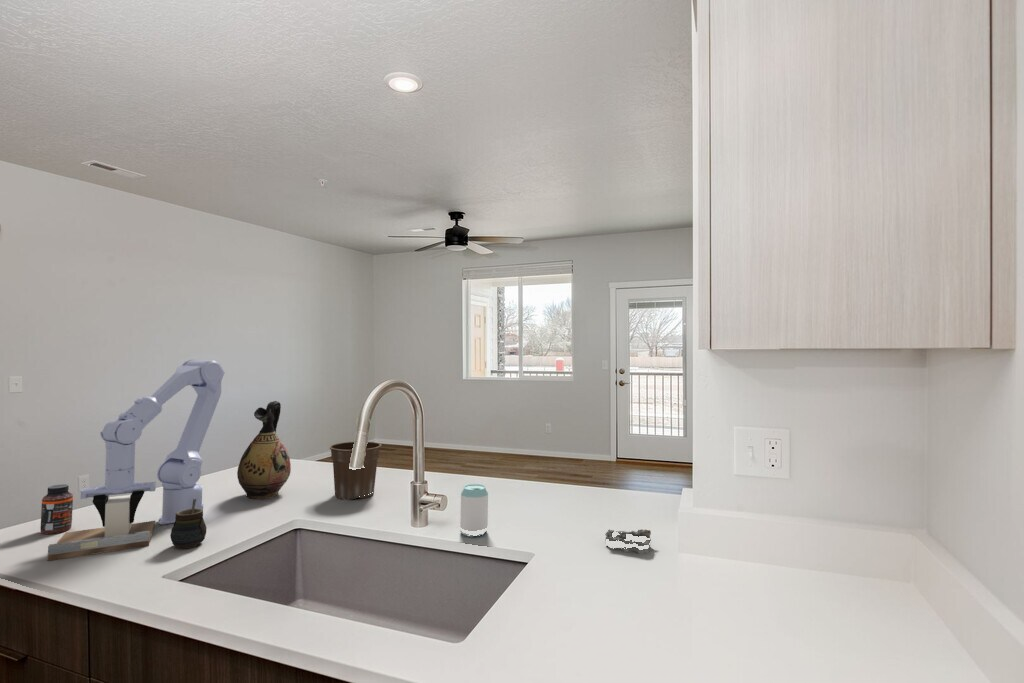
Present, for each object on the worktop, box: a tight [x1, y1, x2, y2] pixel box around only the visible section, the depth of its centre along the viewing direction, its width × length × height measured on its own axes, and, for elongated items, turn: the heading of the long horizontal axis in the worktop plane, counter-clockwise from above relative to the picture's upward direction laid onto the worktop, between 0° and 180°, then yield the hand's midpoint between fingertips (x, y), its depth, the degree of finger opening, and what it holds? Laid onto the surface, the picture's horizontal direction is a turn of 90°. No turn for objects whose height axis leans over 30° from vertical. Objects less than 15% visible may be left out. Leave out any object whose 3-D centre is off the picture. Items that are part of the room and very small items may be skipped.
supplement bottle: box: [39, 483, 74, 535], centre depth 128 cm, size 6×6×11 cm
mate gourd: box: [169, 499, 207, 550], centre depth 120 cm, size 7×8×10 cm
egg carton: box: [604, 529, 652, 555], centre depth 123 cm, size 11×8×4 cm
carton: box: [104, 494, 133, 537], centre depth 124 cm, size 5×7×8 cm, turn 31°
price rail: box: [47, 531, 150, 556], centre depth 115 cm, size 18×1×2 cm, turn 121°
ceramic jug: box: [236, 400, 292, 500], centre depth 163 cm, size 17×15×30 cm
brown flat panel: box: [47, 520, 156, 562], centre depth 122 cm, size 18×16×1 cm
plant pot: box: [329, 441, 382, 501], centre depth 164 cm, size 16×16×16 cm
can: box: [459, 483, 489, 538], centre depth 131 cm, size 7×7×12 cm
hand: (118, 523), depth 124 cm, fingers closed on carton, 4 cm apart
